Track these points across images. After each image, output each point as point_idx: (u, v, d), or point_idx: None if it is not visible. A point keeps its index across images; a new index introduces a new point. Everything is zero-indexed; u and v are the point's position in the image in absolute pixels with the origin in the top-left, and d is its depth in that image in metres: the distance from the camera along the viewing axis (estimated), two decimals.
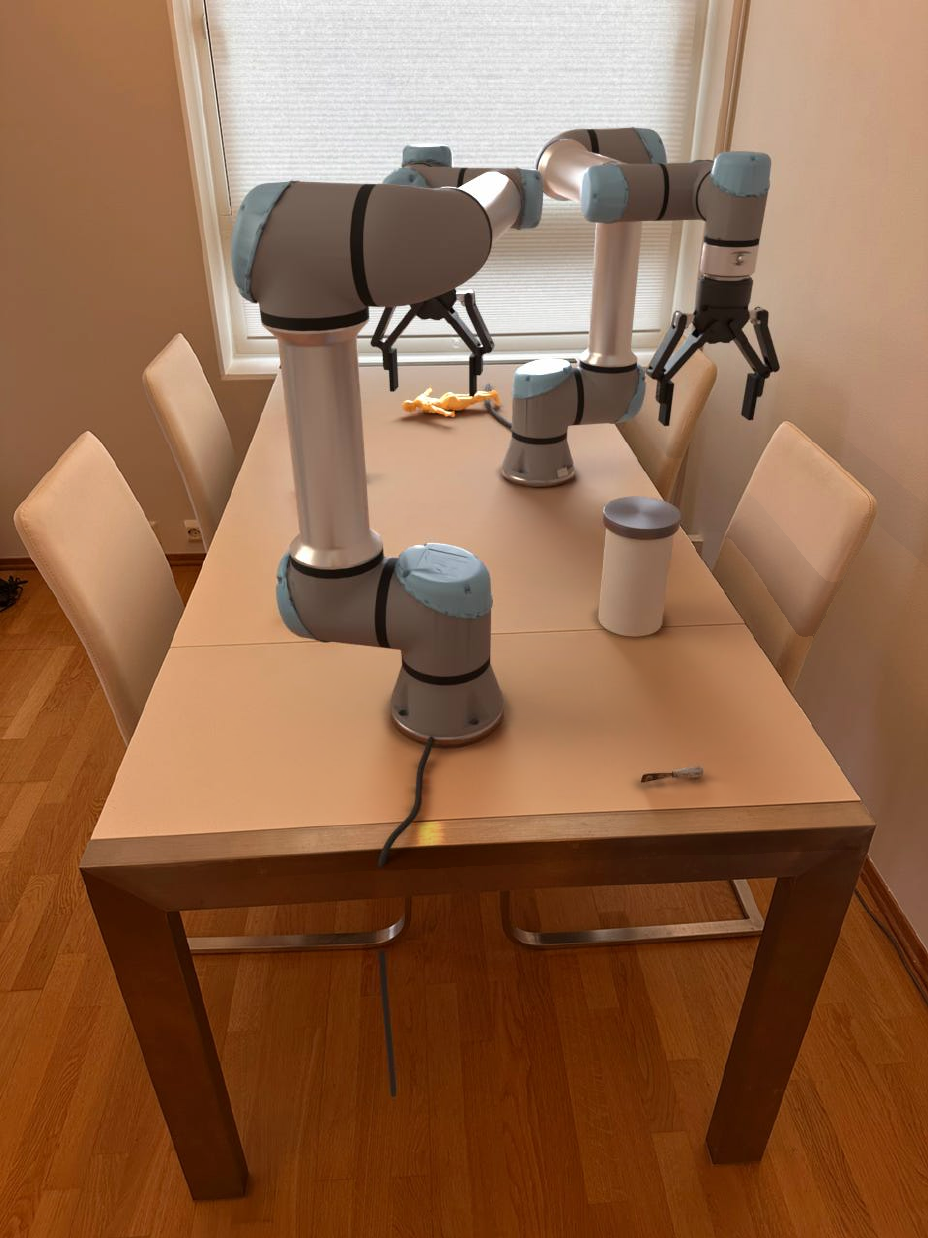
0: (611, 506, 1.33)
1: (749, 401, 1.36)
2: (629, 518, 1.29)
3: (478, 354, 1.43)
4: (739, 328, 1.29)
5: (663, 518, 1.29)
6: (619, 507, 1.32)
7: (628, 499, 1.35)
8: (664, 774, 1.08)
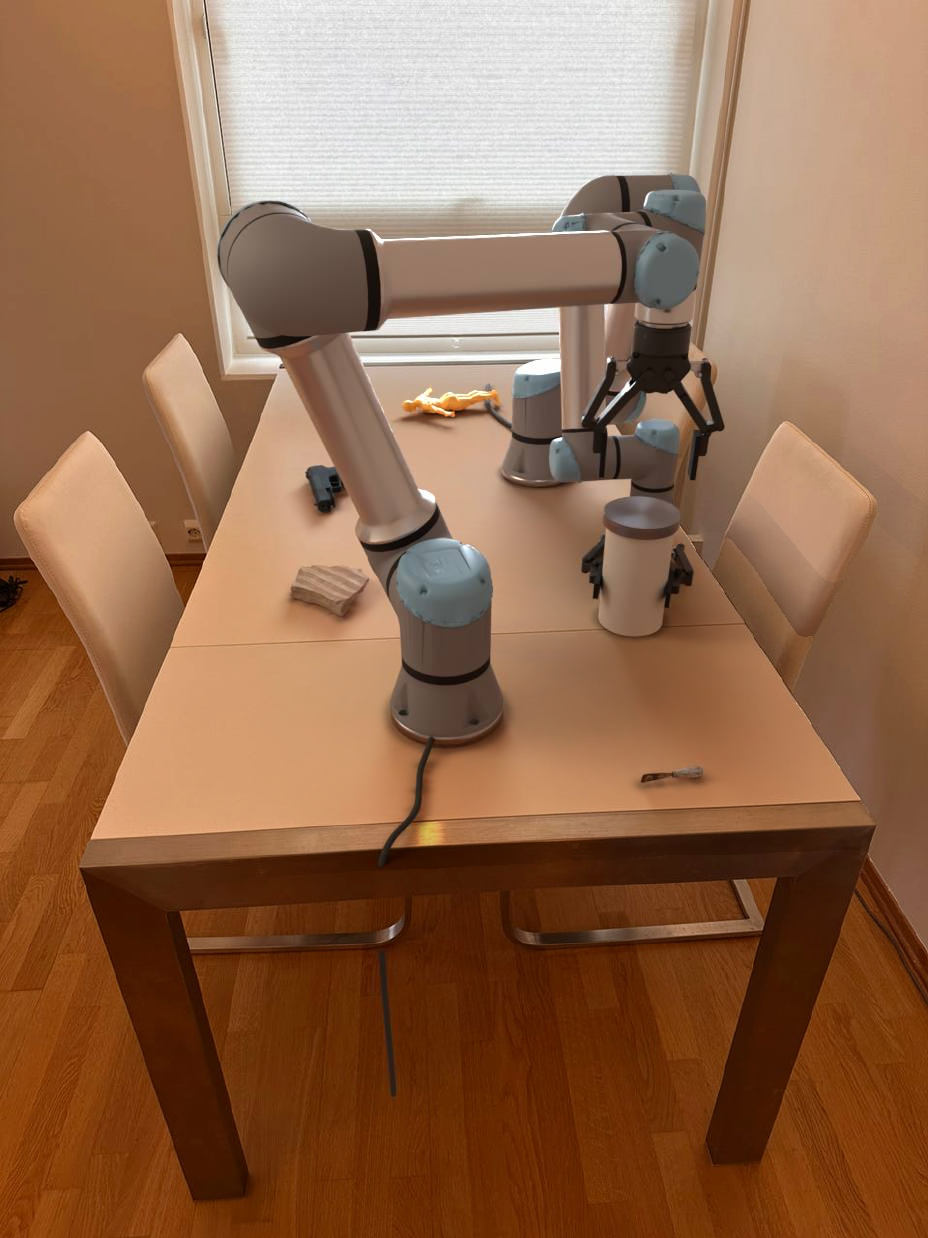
0: (611, 506, 1.33)
1: (600, 586, 1.37)
2: (629, 518, 1.29)
3: None
4: None
5: (663, 518, 1.29)
6: (619, 507, 1.33)
7: (628, 499, 1.35)
8: (664, 774, 1.08)
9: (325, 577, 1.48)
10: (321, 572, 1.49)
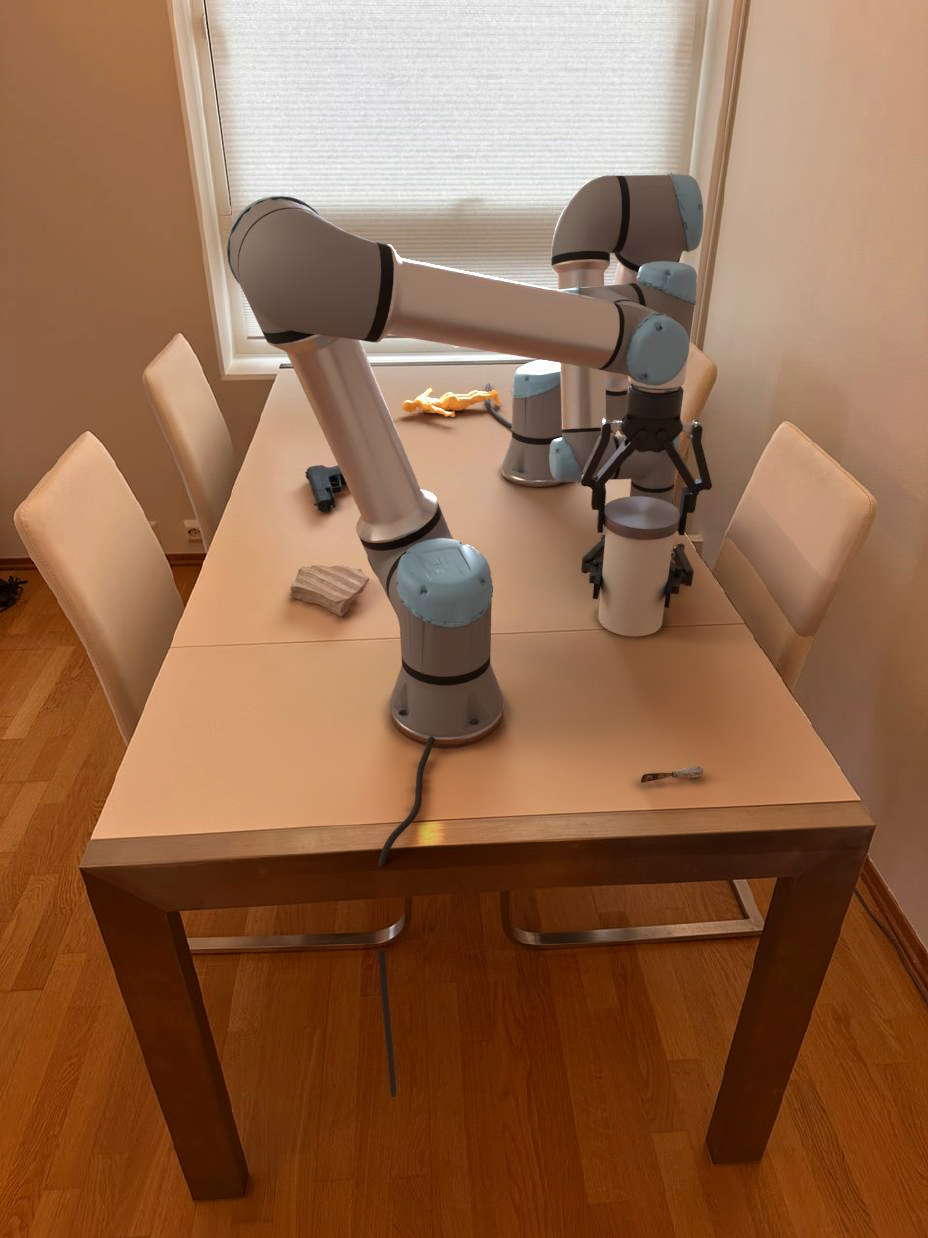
0: (611, 506, 1.33)
1: (600, 586, 1.37)
2: (629, 518, 1.29)
3: None
4: None
5: (663, 518, 1.29)
6: (619, 507, 1.33)
7: (628, 499, 1.35)
8: (664, 774, 1.08)
9: (325, 577, 1.48)
10: (321, 572, 1.49)
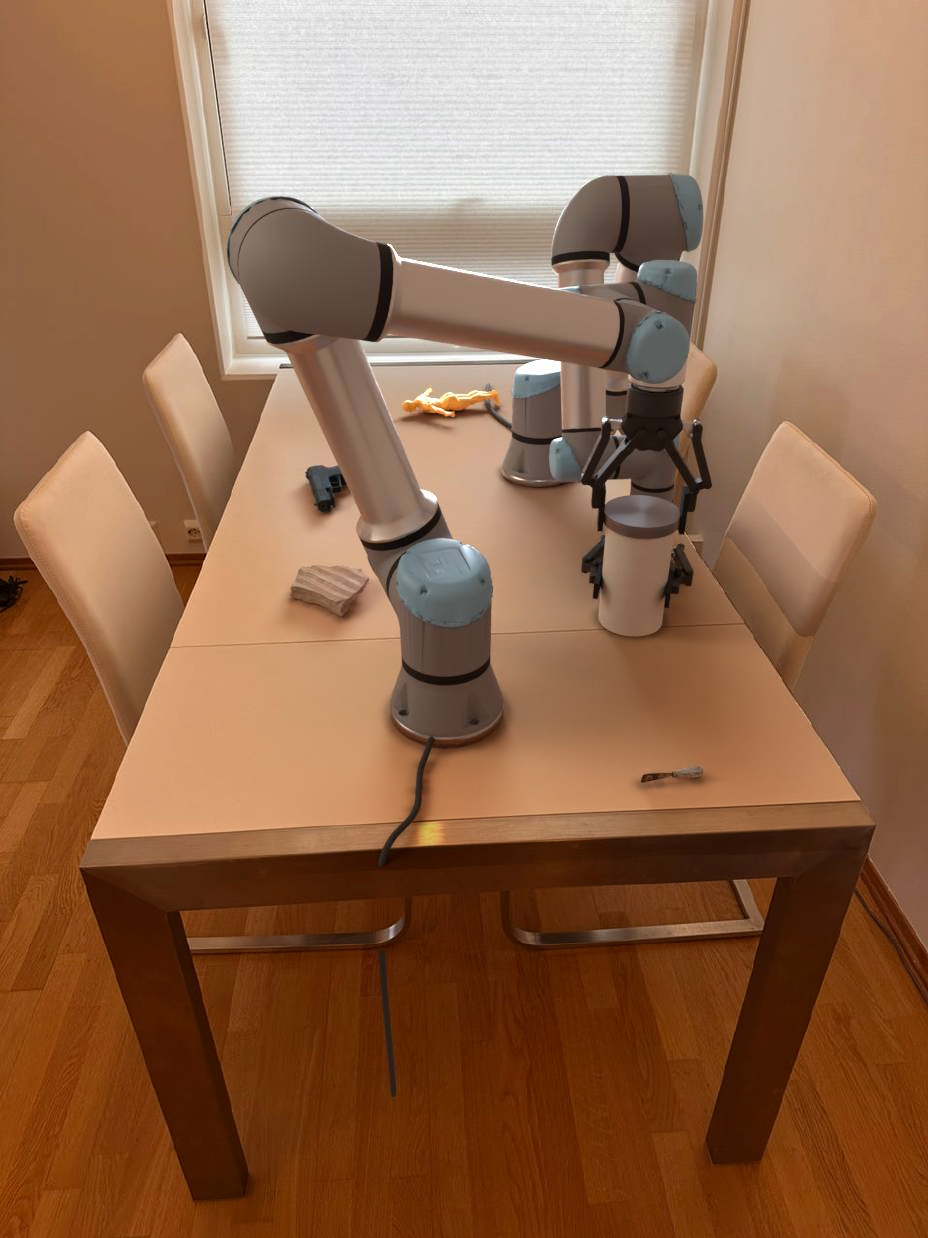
0: (664, 522, 1.28)
1: (600, 586, 1.37)
2: (661, 508, 1.32)
3: None
4: None
5: (630, 501, 1.34)
6: (657, 519, 1.28)
7: (638, 524, 1.27)
8: (664, 774, 1.08)
9: (325, 577, 1.48)
10: (321, 572, 1.49)
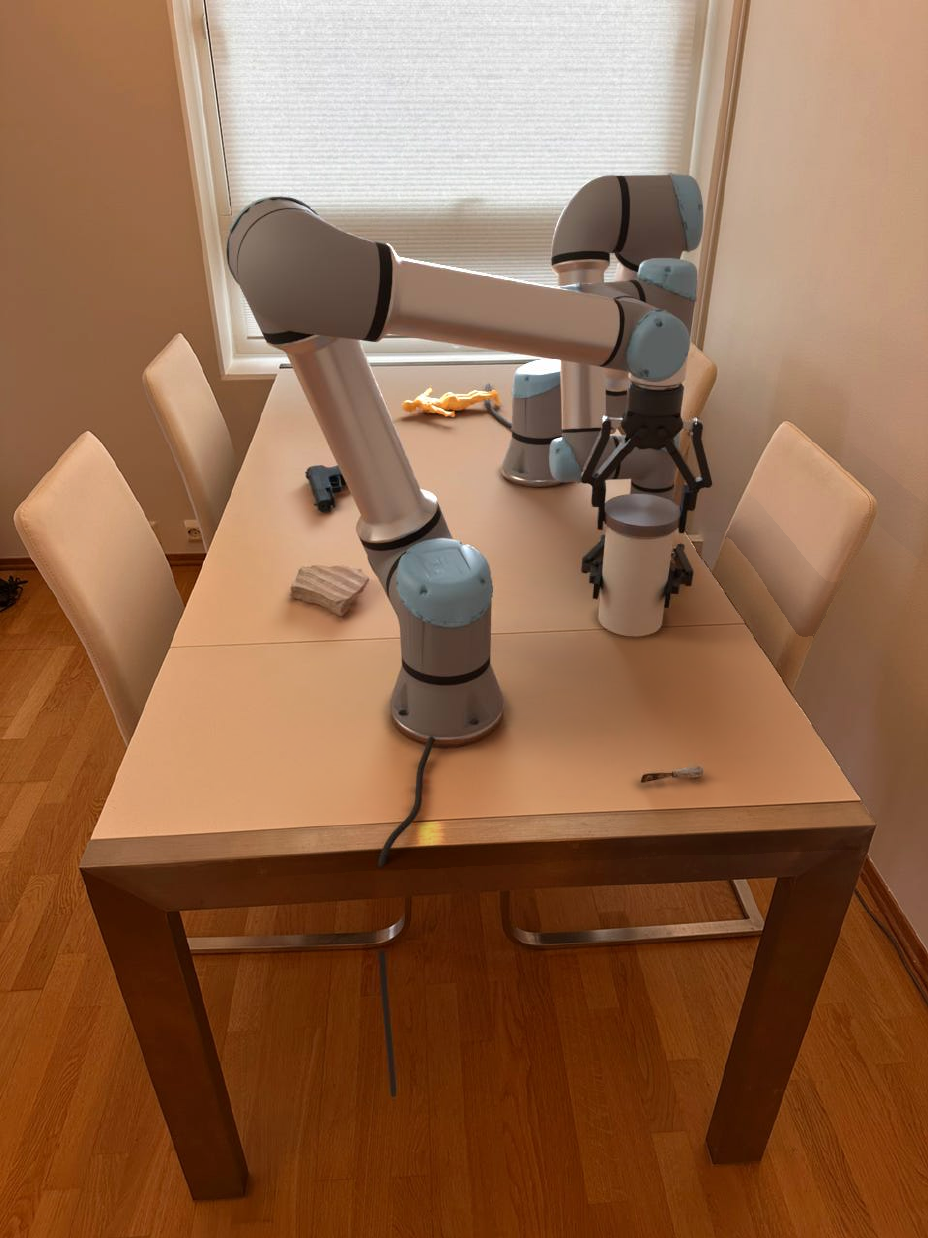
0: (635, 496, 1.35)
1: (600, 586, 1.37)
2: (621, 506, 1.32)
3: None
4: None
5: (641, 519, 1.28)
6: (639, 499, 1.34)
7: (660, 500, 1.33)
8: (664, 774, 1.08)
9: (325, 577, 1.48)
10: (321, 572, 1.49)
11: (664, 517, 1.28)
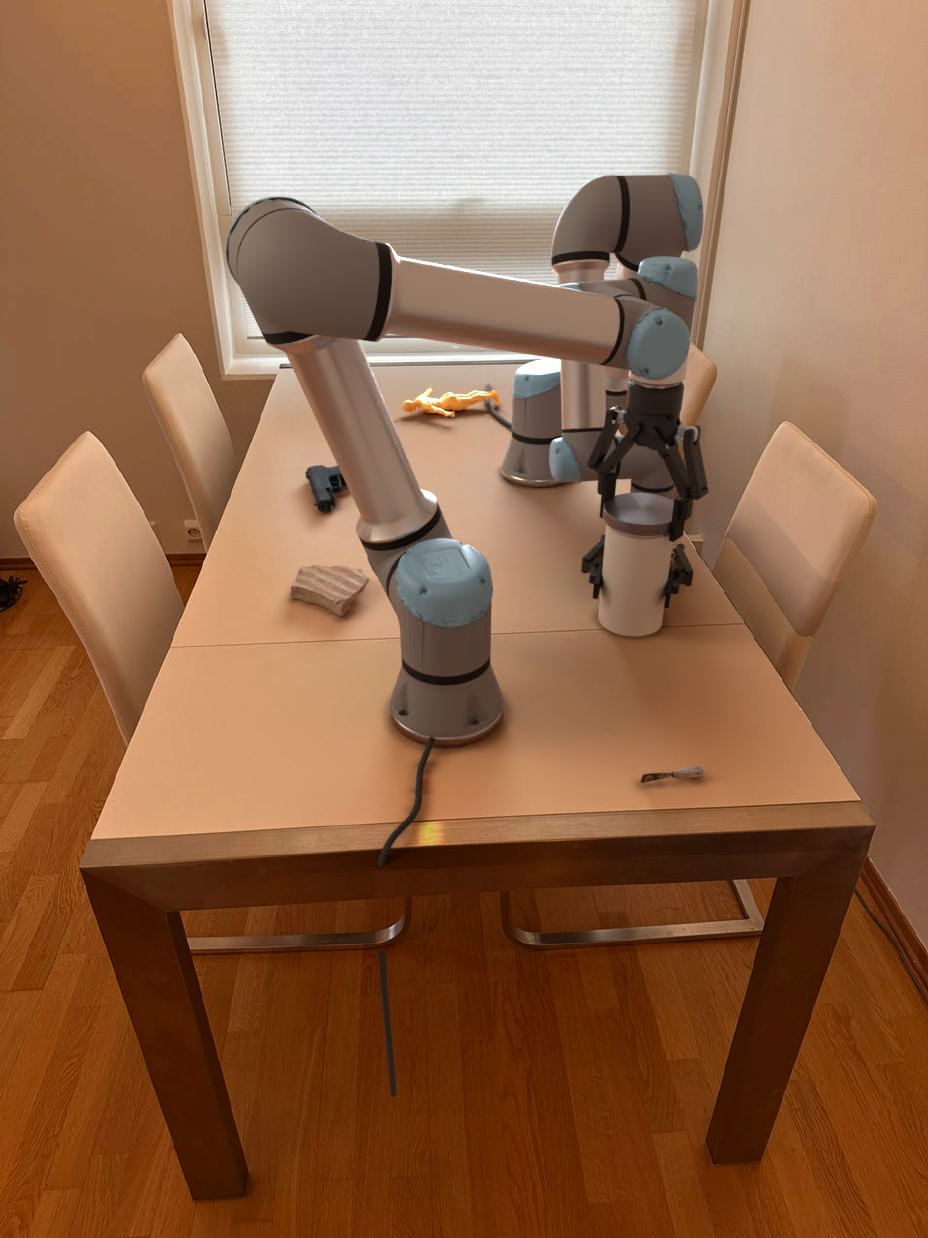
0: (629, 519, 1.27)
1: (600, 586, 1.37)
2: (658, 515, 1.29)
3: (683, 499, 1.23)
4: None
5: (656, 501, 1.33)
6: (630, 516, 1.28)
7: (611, 510, 1.30)
8: (664, 774, 1.08)
9: (325, 577, 1.48)
10: (321, 572, 1.49)
11: (633, 497, 1.34)
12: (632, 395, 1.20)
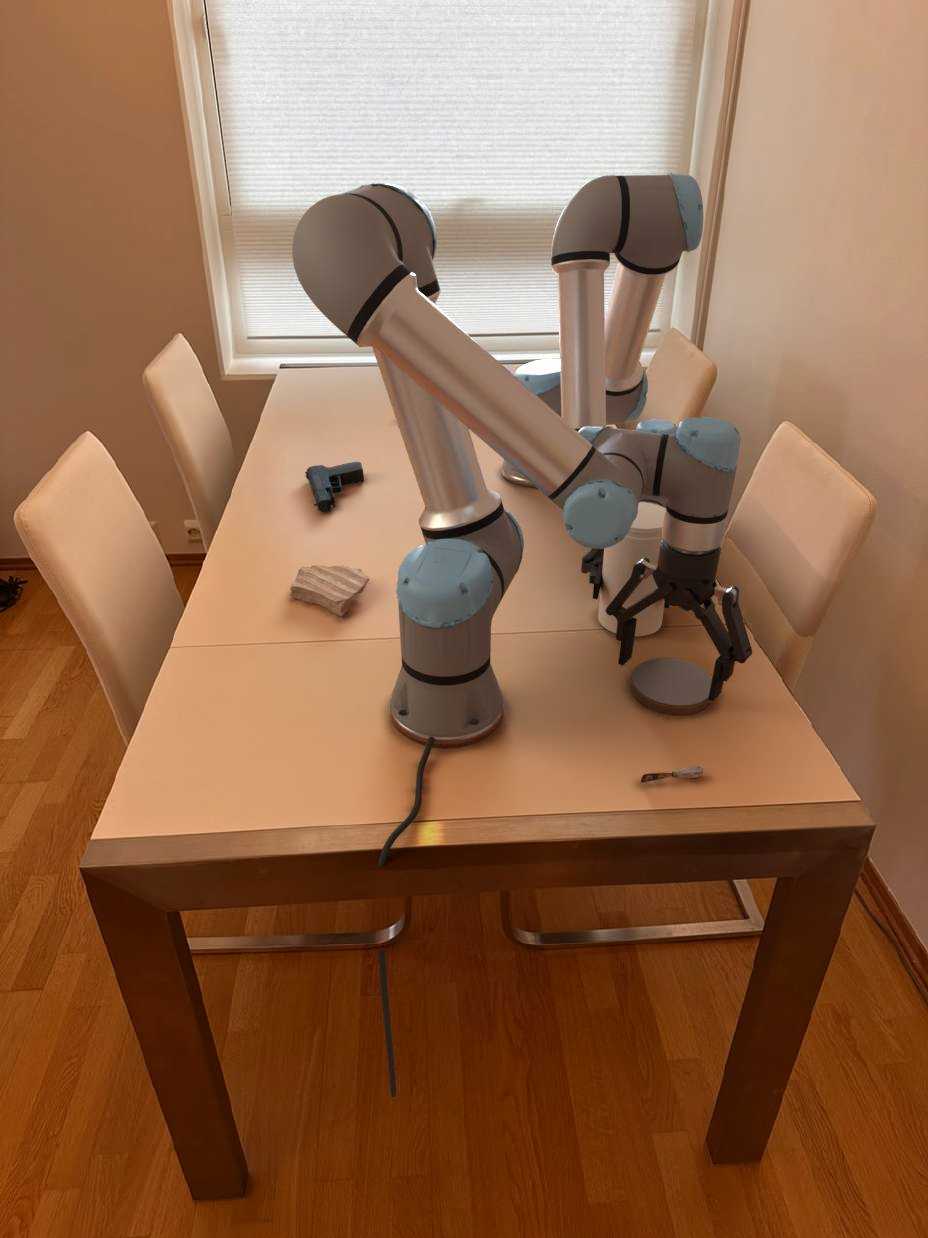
0: (662, 698, 1.21)
1: (600, 586, 1.37)
2: (690, 690, 1.22)
3: (726, 662, 1.15)
4: None
5: (685, 669, 1.26)
6: (663, 693, 1.22)
7: (641, 685, 1.23)
8: (664, 774, 1.08)
9: (325, 577, 1.48)
10: (321, 572, 1.49)
11: (661, 664, 1.27)
12: (666, 558, 1.12)
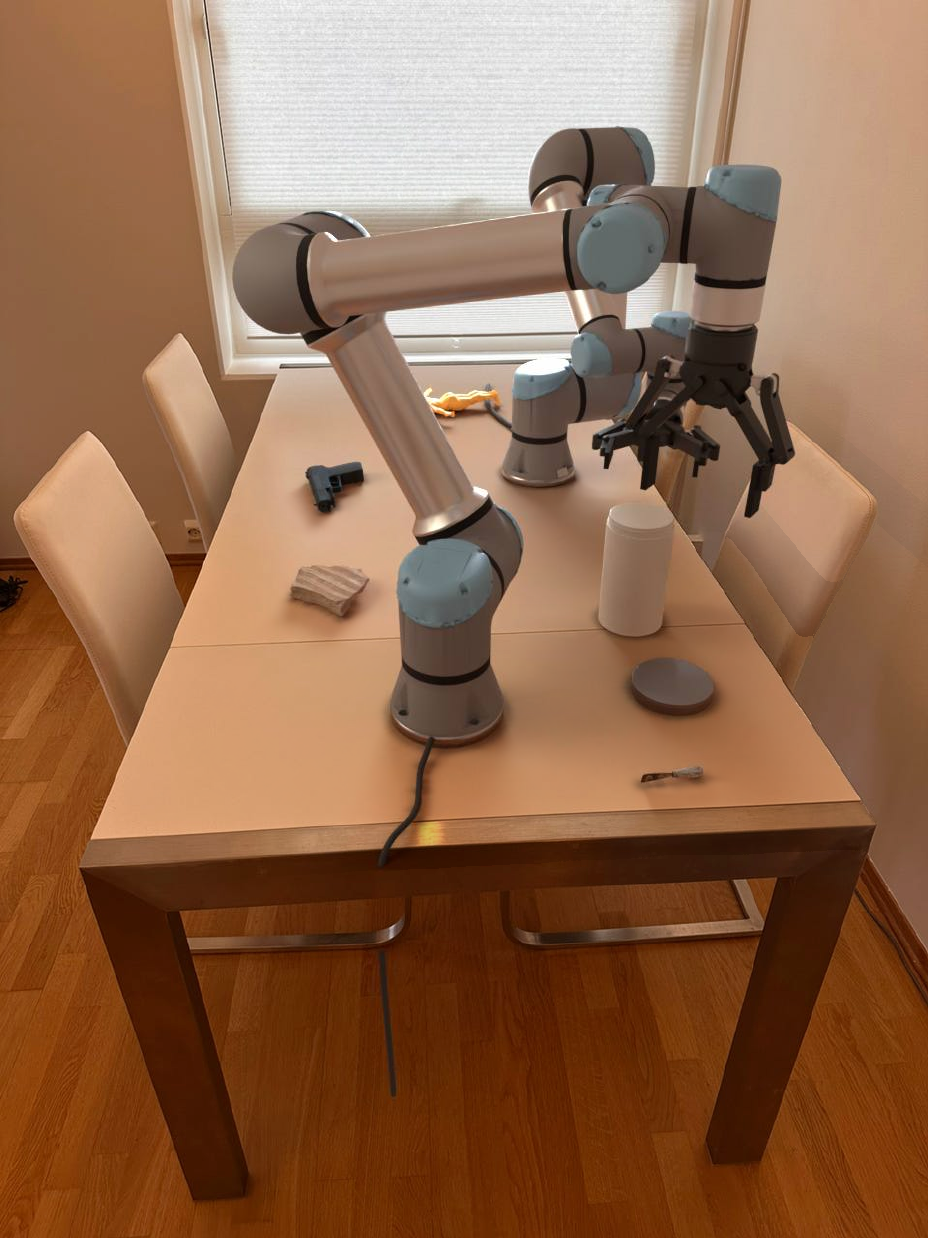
0: (662, 698, 1.21)
1: (610, 458, 1.41)
2: (690, 690, 1.22)
3: (766, 464, 1.00)
4: None
5: (685, 669, 1.26)
6: (663, 693, 1.22)
7: (641, 685, 1.23)
8: (664, 774, 1.08)
9: (325, 577, 1.48)
10: (321, 572, 1.49)
11: (661, 664, 1.27)
12: (695, 340, 0.98)
